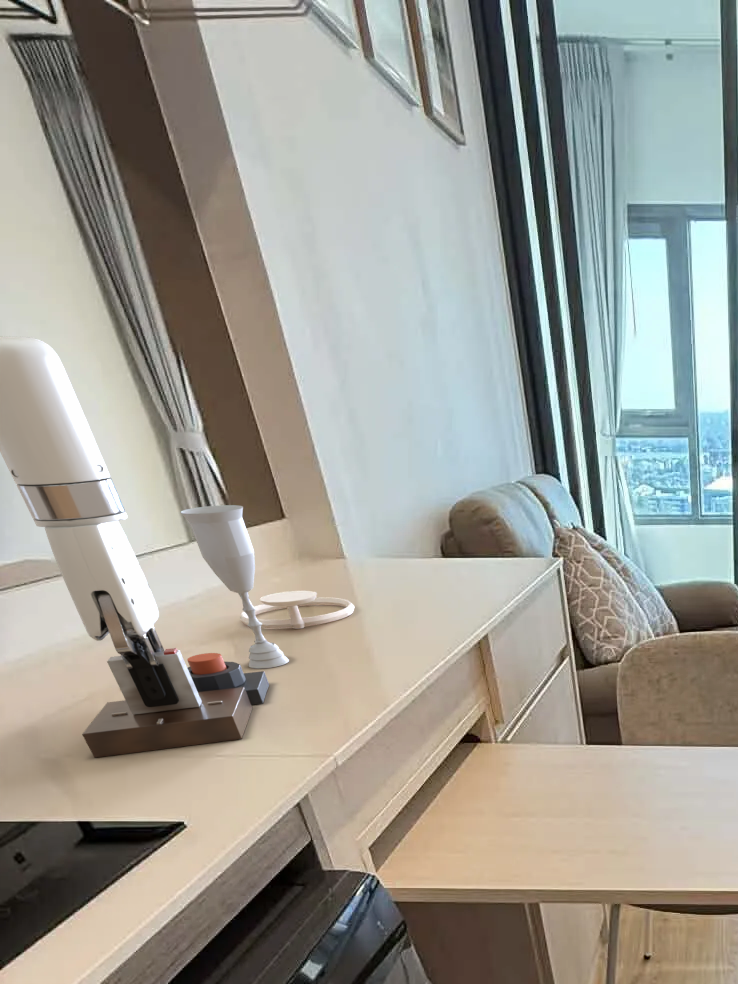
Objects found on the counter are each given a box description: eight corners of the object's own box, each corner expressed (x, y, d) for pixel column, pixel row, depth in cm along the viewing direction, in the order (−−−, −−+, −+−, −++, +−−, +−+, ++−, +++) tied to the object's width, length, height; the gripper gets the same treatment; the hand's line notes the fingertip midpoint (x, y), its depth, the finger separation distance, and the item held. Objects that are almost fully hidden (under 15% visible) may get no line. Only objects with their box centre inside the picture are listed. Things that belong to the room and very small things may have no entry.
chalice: (281, 670, 112) (224, 513, 100) (230, 671, 112) (168, 514, 100) (305, 655, 117) (253, 504, 106) (256, 655, 117) (200, 505, 106)
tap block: (94, 758, 88) (80, 732, 86) (118, 724, 96) (106, 700, 94) (241, 739, 91) (231, 714, 90) (252, 708, 99) (243, 685, 98)
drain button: (191, 678, 99) (184, 662, 98) (196, 670, 101) (189, 654, 100) (225, 674, 100) (219, 659, 98) (229, 666, 102) (223, 651, 101)
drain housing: (169, 714, 98) (155, 683, 96) (181, 694, 104) (168, 665, 102) (263, 703, 101) (251, 673, 99) (269, 684, 107) (258, 655, 104)
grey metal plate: (132, 714, 90) (105, 658, 87) (135, 709, 92) (109, 654, 88) (199, 706, 92) (175, 651, 88) (202, 702, 93) (178, 647, 90)
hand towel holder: (346, 572, 141) (349, 596, 126) (354, 600, 144) (358, 627, 129) (234, 581, 136) (223, 607, 121) (245, 611, 139) (236, 640, 124)
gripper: (52, 497, 85) (140, 685, 96) (2, 518, 73) (109, 729, 85) (136, 492, 87) (213, 677, 98) (101, 511, 75) (193, 719, 87)
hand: (164, 699), depth 91 cm, fingers closed on grey metal plate, 2 cm apart
